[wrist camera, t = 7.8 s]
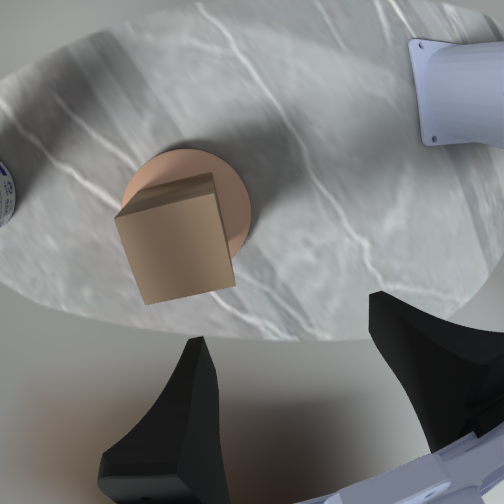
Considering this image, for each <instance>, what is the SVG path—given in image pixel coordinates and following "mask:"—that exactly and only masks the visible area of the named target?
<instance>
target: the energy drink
mask: <svg viewBox="0 0 504 504" xmlns="http://www.w3.org/2000/svg"><path fill="white" fill-rule="evenodd" d="M15 197H16V196H15V187H14V182H13V180H12V177H11V175H10V173H9V171H8V169H7V168H6V167H5V165H4V164H2V163H1V162H0V228H1V227H3V226H4V225H5V224H6V223H7V222H8V221H9V219H10V218H11V216H12V213H13V211H14V206H15Z"/></svg>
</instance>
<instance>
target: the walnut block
mask: <svg viewBox="0 0 504 504" xmlns="http://www.w3.org/2000/svg"><path fill="white" fill-rule="evenodd" d="M114 220H115V223H116V226H117V229H118V232H119V235H120V238H121V241H122V244H123V247H124V250H125V253H126V256H127V258H128V261H129V264H130V267H131V269H132V272H133V275H134V278H135V280H136V283H137V285H138V288H139V291H140V293H141V296H142V298H143V301H144V303H145V305H149V304H154V303H159V302H163V301H168V300H173V299H178V298H182V297H187V296H192V295H196V294H201V293H206V292H210V291H215V290H219V289H224V288H228V287H233V286H236V284H235V279H234V273H233V268H232V262H231V256H230V251H229V245H228V240H227V236H226V231H225V227H224V223H223V218H222V214H221V210H220V205H219V201H218V196H217V192H216V187H215V183H214V178H213V174H212V172H209V173H205V174H201V175H197V176H192V177H188V178H184V179H180V180H176V181H172V182H168V183H164V184H160V185H156V186H153V187H149V188H145V189H142V190H138V191H137V193H136V194H135V195H134V196H133V197H132V198H131V199H130V200H129V202H128V203H127V204H126V205H125V206H124V207H123V209H122V210H121V211H120V212H119V213H118V214H117V216H116V217H115V218H114Z"/></svg>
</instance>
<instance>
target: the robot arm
mask: <svg viewBox="0 0 504 504" xmlns="http://www.w3.org/2000/svg"><path fill="white" fill-rule="evenodd" d="M419 44H420V45H421V48H420V47H419ZM408 47H409V52H410V57H411V62H412V68H413V73H414V80H415V86H416V93H417V100H418V108H419V117H420V127H421V138H422V142H423V144H424V145H426V146H437V145H447V144H458V143H471V142H478V143H482V144H487V145H491V146H495V147H499V148H502V149H504V41H500V42H488V43H478V44H469V45H458V44H452V43H445V42H438V41H430V40H421V39H411V40H409V42H408ZM433 136H434V141H432V137H433ZM369 333H370V335H371V337H372V339H373V341H374V343H375V345H376V347H377V349H378V350H379V352H380V353H381V354H382V356H383V358H384V359H385V361H386V362H387V363H388V365H389V367H390V368H391V369H392V371H393V372H394V374H395V375H396V377H397V378H398V380H399V381H400V383H401V384H402V386H403V388H404V389H405V391H406V393H407V395H408V397H409V399H410V401H411V403H412V405H413V408H414V410H415V412H416V414H417V416H418V419H419V421H420V423H421V426H422V429H423V431H424V434H425V436H426V439H427V442H428V445H429V448H430V451H431V454H427V455H425V456H422V457H419V458H417V459H415V460H413V461H410V462H408V463H406V464H404V465H402V466H399V467H397V468H395V469H392V470H390V471H387V472H385V473H382V474H380V475H377V476H375V477H372V478H369V479H366V480H364V481H361V482H358V483H355V484H353V485H350V486H348V487H346V488H343V489H340V490H338V491H337V492H335V493H333V494H329V495H326V496H322V497H319V498H315V499H311V500H307V501H303V502H299V503H295V504H485V503H484V501H483V499H482V498H481V496H483V495H484V494H486V493H487V492H488V491H490V490H491V489H492V488H494V487H495V486H496V485H498V484H499V483H500V482H502V481H503V480H504V333H503V332H492V331H484V330H478V329H473V328H469V327H465V326H461V325H457V324H454V323H451V322H448V321H445V320H443V319H440V318H437V317H435V316H433V315H430V314H428V313H426V312H423V311H421V310H419V309H417V308H415V307H413V306H411V305H409V304H407V303H405V302H403V301H401V300H399V299H397V298H395V297H394V296H392V295H390V294H388V293H385V292H383V291H379V292H376V293H372V294H369ZM219 435H220V434H219V390H218V383H217V375H216V369H215V367H214V364H213V361H212V359H211V356H210V354H209V351H208V348H207V346H206V343H205V340H204V337H203V336H201V337H196V338H191V339H189V340H188V341H187V343H186V346H185V348H184V350H183V353H182V355H181V357H180V359H179V362H178V364H177V366H176V368H175V370H174V372H173V374H172V376H171V377H170V379H169V381H168V383H167V385H166V386H165V388H164V390H163V391H162V393H161V394H160V396H159V397H158V399H157V400H156V402H155V403H154V405H153V406H152V408H151V409H150V410H149V411H148V412H147V414H146V415H145V416H144V417H143V418H142V419H141V420H140V422H139V423H138V424H137V425H136V426H135V427H134V428H133V429H132V430H131V431H130V432H129V433H128V434H127V435H126V436H124V437H123V438H122V439H121V440H120V441H119V442H117V443H116V444H115V445H113V446H112V447H111V448H110V449H108V450H107V451H106V452H104V453H103V455H102V458H101V462H100V468H99V473H98V480H97V485H98V488H99V489H100V490H101V491H102V492H103V493H104V494H105V495H107V496H108V497H109V498H110V499H112V500H113V501H114V502H116V503H117V504H231V502H230V497H229V492H228V488H227V482H226V477H225V471H224V465H223V459H222V453H221V445H220V436H219Z"/></svg>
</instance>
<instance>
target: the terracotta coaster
mask: <svg viewBox="0 0 504 504" xmlns="http://www.w3.org/2000/svg"><path fill="white" fill-rule="evenodd" d="M209 172H212V174H213V178H214V183H215V187H216V192H217V196H218V201H219V205H220V210H221V214H222V218H223V223H224V227H225V231H226V236H227V240H228V245H229V251H230V256H231V259H232V258H233V257H234V256H235V255H236V253H237V252H238V251H239V250H240V248H241V247H242V245H243V243H244V242H245V239H246V237H247V235H248V232H249V228H250V223H251V203H250V199H249V195H248V192H247V190H246V187H245V185H244V183H243V182H242V180H241V178H240V177H239V175H238V174H237V172H236V171H235V170H234V169H233V168H232V167H231V166H230V165H229V164H228V163H227V162H225V161H224V160H223V159H221V158H220V157H218V156H216V155H214V154H212V153H209V152H206V151H203V150H198V149H188V148H187V149H176V150H171V151H168V152H165V153H162V154H160V155H158V156H156V157H154V158H153V159H151V160H150V161H148V162H147V163H146V164H144V165H143V166H142V167H141V168H140V169H139V170H138V171H137V172H136V173H135V175H134V176H133V177H132V179H131V180H130V182H129V183H128V185H127V188H126V190H125V192H124V196H123V199H122V206H121V210H122V209H123V207H124V206H125V205H126V204H127V203H128V202H129V200H130V199H131V198H132V197H133V196H134V195H135V194H136V193H137V191H138V190H142V189H145V188H149V187H153V186H156V185H160V184H164V183H168V182H172V181H176V180H180V179H184V178H188V177H192V176H197V175H201V174H205V173H209Z"/></svg>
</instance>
